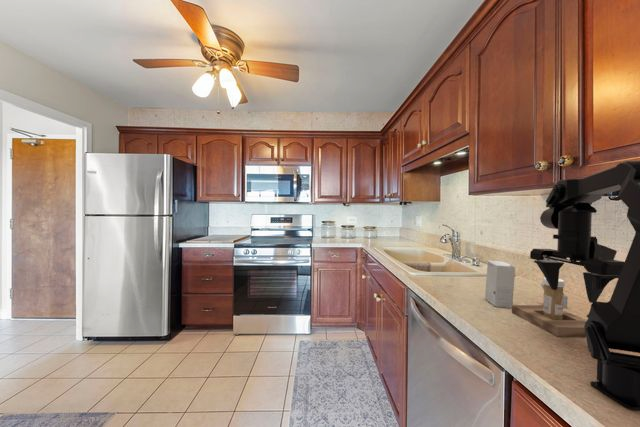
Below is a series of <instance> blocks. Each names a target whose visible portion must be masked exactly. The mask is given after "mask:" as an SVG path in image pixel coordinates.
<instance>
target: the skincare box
mask: <svg viewBox="0 0 640 427" xmlns="http://www.w3.org/2000/svg"><path fill="white" fill-rule="evenodd" d="M515 275H516V267H515V266H514V265H512V264H510V263H507V262H505V261H499V260H490V259H489V260H487V268H486V278H485V293H484V294H485V295H484V298H485V300H486V301H488V302H489V303H490V304H491V305H492V306H493V307H497V308H505V309H512V305H514V290H515Z"/></svg>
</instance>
